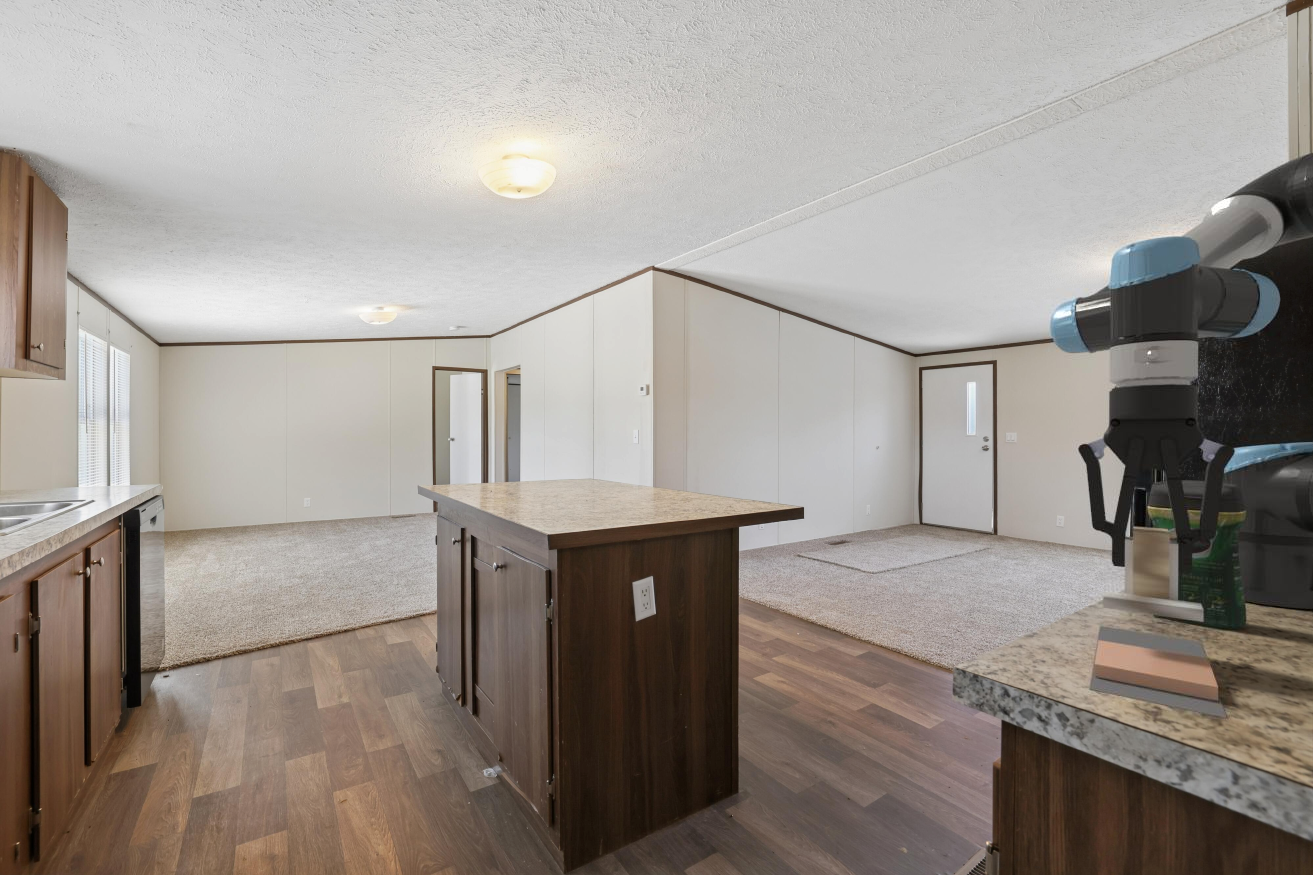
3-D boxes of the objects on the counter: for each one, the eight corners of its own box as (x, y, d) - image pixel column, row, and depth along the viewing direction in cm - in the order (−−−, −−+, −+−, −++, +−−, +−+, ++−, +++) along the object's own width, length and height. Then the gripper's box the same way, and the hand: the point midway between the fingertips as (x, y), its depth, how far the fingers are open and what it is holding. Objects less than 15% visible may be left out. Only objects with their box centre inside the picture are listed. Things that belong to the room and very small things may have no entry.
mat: (1200, 645, 71) (1200, 641, 71) (1226, 723, 52) (1226, 717, 52) (1099, 629, 77) (1099, 625, 77) (1089, 694, 58) (1089, 688, 58)
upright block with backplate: (1196, 604, 67) (1197, 531, 67) (1203, 621, 60) (1204, 540, 60) (1105, 592, 72) (1106, 524, 72) (1103, 607, 65) (1103, 532, 65)
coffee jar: (1251, 625, 79) (1252, 481, 79) (1238, 637, 74) (1240, 484, 74) (1157, 608, 87) (1158, 477, 87) (1139, 618, 82) (1141, 479, 82)
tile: (1208, 658, 62) (1218, 687, 55) (1208, 671, 62) (1218, 702, 55) (1098, 639, 67) (1094, 663, 60) (1098, 652, 67) (1094, 677, 60)
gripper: (1060, 386, 69) (1059, 594, 69) (1260, 378, 59) (1258, 621, 59) (1066, 390, 75) (1065, 582, 75) (1248, 383, 65) (1246, 605, 65)
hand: (1150, 599), depth 67 cm, fingers closed on upright block with backplate, 3 cm apart
